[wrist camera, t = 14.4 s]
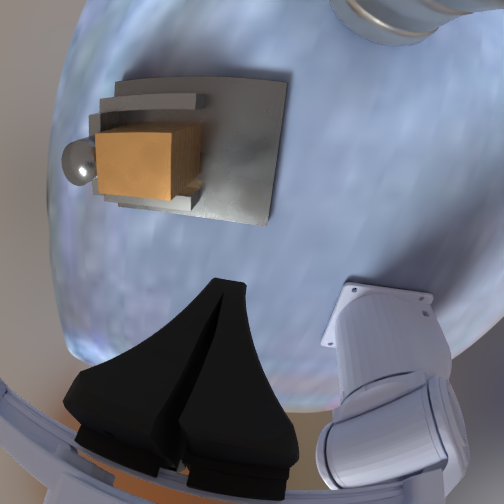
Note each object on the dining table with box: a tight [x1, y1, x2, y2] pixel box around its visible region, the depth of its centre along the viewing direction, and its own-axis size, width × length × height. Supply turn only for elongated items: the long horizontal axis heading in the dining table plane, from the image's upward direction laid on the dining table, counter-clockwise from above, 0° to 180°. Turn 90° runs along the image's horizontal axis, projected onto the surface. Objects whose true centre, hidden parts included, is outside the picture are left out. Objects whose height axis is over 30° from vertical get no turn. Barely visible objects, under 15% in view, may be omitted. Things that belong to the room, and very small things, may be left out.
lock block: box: [95, 122, 202, 201], centre depth 15 cm, size 5×4×5 cm
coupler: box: [62, 76, 287, 227], centre depth 15 cm, size 13×10×6 cm
